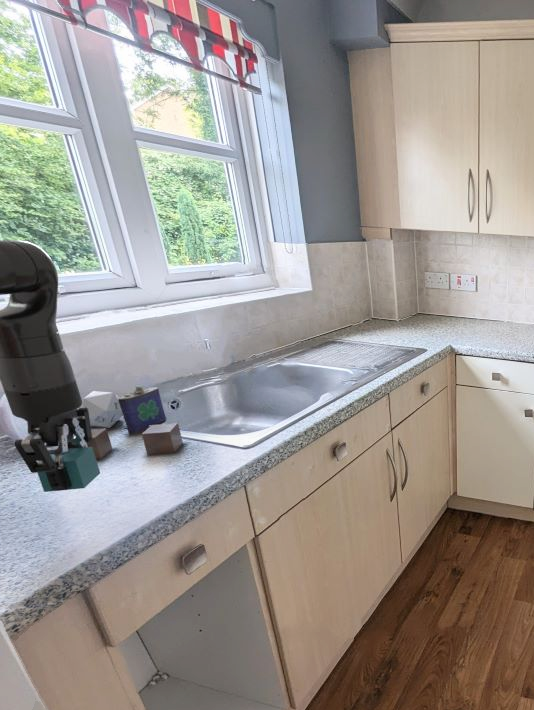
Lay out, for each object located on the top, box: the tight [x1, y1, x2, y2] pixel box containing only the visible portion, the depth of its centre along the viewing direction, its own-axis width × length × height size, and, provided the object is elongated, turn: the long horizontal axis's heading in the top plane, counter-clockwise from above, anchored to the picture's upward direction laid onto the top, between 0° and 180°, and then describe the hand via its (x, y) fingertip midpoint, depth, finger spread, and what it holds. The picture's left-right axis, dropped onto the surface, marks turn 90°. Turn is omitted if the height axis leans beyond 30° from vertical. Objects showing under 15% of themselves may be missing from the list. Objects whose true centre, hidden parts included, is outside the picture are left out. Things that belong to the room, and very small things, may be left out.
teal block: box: [37, 447, 101, 493], centre depth 73 cm, size 5×5×5 cm
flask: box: [118, 385, 167, 436], centre depth 109 cm, size 9×3×11 cm, turn 171°
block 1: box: [82, 427, 114, 461], centre depth 96 cm, size 5×5×5 cm
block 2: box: [141, 422, 184, 456], centre depth 100 cm, size 5×5×5 cm
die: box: [79, 390, 124, 429], centre depth 109 cm, size 8×9×10 cm
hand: (72, 479), depth 73 cm, fingers closed on teal block, 5 cm apart
